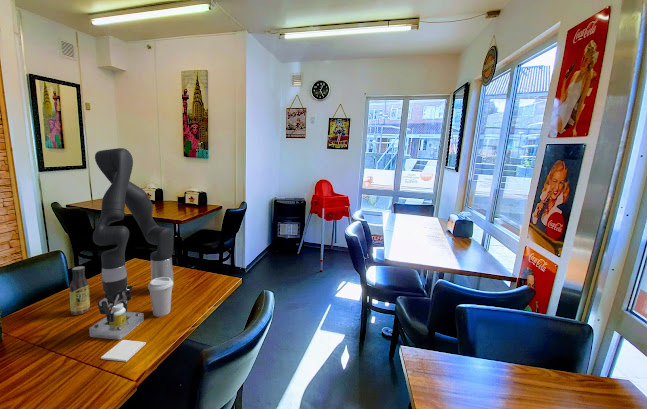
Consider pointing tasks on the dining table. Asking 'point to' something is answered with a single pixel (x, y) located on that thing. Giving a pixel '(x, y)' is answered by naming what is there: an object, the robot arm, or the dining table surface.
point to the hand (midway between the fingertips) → (117, 316)
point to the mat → (123, 350)
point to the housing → (116, 327)
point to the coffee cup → (161, 295)
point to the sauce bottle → (79, 292)
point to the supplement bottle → (119, 315)
